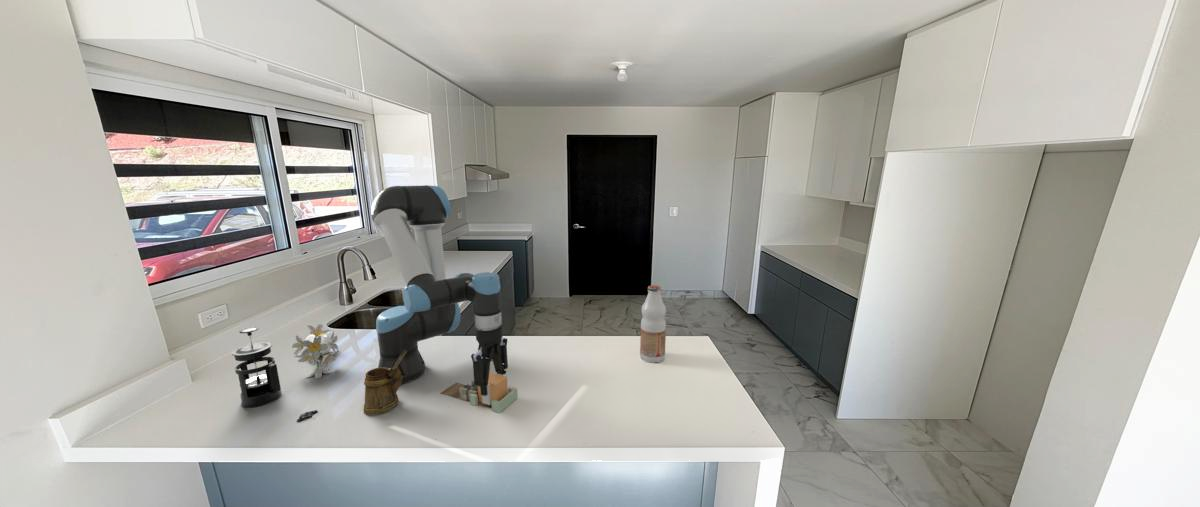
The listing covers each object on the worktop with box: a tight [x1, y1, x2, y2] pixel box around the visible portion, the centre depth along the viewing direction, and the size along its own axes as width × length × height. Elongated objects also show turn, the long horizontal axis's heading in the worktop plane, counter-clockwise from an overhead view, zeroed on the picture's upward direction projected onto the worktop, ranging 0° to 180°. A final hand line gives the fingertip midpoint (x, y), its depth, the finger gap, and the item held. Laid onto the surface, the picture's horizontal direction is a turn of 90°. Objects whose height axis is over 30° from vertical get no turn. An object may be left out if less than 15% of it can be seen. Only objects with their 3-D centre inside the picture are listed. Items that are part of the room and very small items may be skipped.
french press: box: [231, 327, 283, 409], centre depth 114 cm, size 12×9×23 cm
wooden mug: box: [363, 349, 407, 416], centre depth 111 cm, size 9×14×18 cm, turn 94°
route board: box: [439, 378, 516, 413], centre depth 116 cm, size 24×7×4 cm, turn 67°
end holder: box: [469, 386, 519, 414], centre depth 114 cm, size 11×9×3 cm
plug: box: [464, 371, 509, 405], centre depth 115 cm, size 14×5×7 cm, turn 66°
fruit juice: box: [639, 284, 667, 364], centre depth 141 cm, size 9×9×28 cm
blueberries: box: [295, 409, 319, 423], centre depth 108 cm, size 7×8×2 cm
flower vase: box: [291, 324, 340, 379], centre depth 138 cm, size 13×18×25 cm
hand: (493, 398), depth 114 cm, fingers closed on plug, 5 cm apart
